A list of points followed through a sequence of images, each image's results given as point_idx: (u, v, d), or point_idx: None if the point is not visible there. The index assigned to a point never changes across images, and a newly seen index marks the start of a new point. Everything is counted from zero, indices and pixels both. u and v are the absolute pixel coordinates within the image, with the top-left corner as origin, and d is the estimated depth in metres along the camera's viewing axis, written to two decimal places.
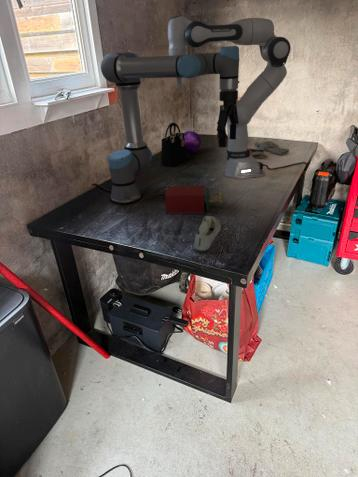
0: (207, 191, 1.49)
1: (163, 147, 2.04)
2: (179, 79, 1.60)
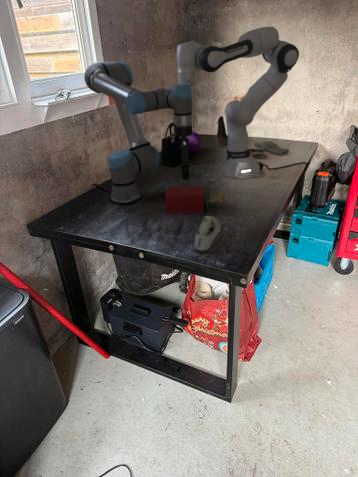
0: (207, 191, 1.49)
1: (163, 147, 2.04)
2: None
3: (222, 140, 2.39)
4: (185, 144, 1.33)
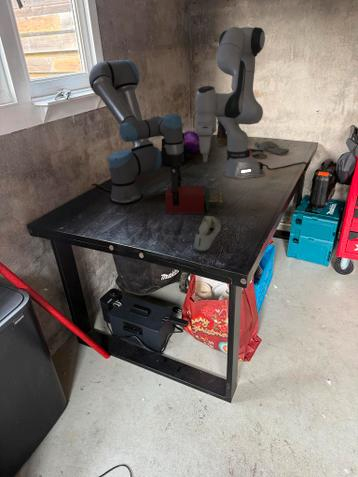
0: (207, 191, 1.49)
1: (163, 147, 2.04)
2: None
3: (222, 140, 2.39)
4: (174, 172, 1.38)
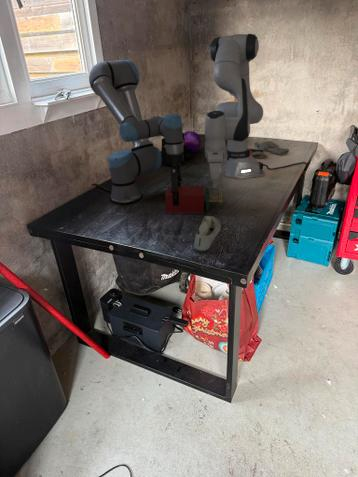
0: (207, 191, 1.49)
1: (163, 147, 2.04)
2: None
3: None
4: (174, 172, 1.38)
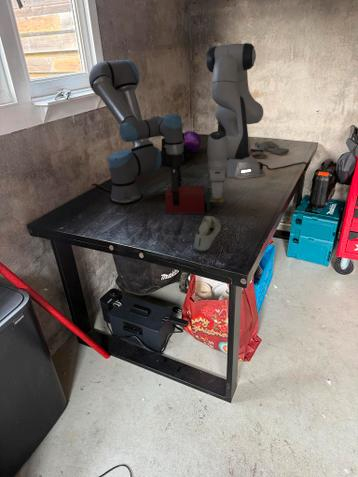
0: (208, 191, 1.49)
1: (163, 147, 2.04)
2: None
3: None
4: (174, 172, 1.38)
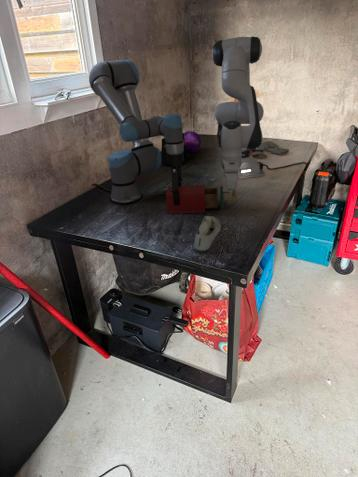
0: (221, 189, 1.49)
1: (163, 147, 2.04)
2: None
3: None
4: (175, 172, 1.38)
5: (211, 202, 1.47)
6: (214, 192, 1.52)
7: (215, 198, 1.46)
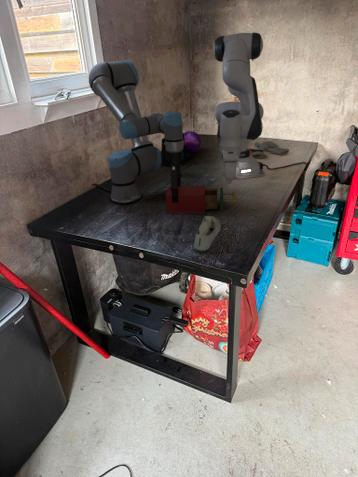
0: (221, 191, 1.49)
1: (163, 147, 2.04)
2: None
3: None
4: (174, 169, 1.38)
5: (210, 203, 1.47)
6: (214, 193, 1.52)
7: (215, 199, 1.46)
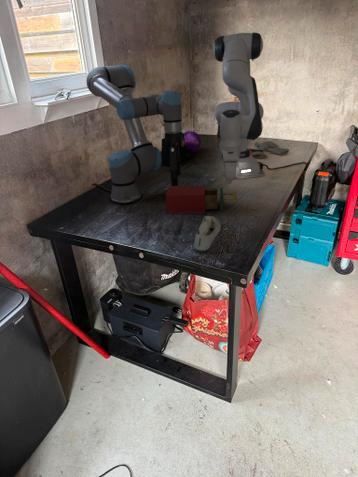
0: (221, 191, 1.49)
1: (163, 147, 2.04)
2: None
3: None
4: (173, 151, 1.34)
5: (210, 203, 1.47)
6: (214, 193, 1.52)
7: (215, 199, 1.46)
